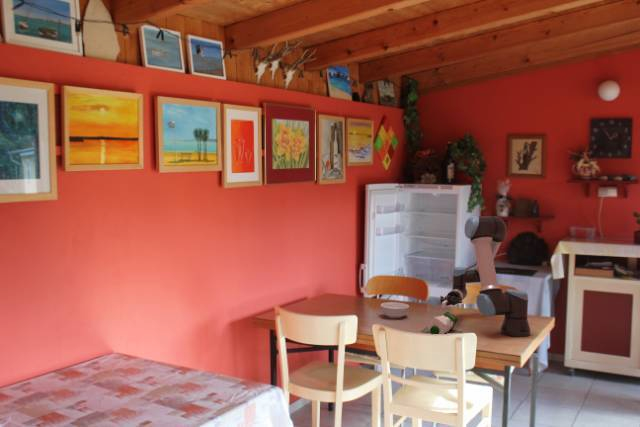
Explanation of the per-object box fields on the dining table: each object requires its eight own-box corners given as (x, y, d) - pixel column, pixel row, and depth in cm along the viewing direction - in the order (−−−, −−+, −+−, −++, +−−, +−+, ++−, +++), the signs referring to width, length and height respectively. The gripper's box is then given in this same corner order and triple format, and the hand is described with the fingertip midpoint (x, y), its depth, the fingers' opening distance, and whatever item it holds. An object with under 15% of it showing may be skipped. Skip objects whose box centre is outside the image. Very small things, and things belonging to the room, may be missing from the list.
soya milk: (440, 322, 349) (424, 329, 333) (447, 309, 346) (432, 315, 330) (453, 331, 345) (438, 339, 328) (460, 318, 342) (446, 325, 326)
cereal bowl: (405, 321, 363) (406, 309, 362) (377, 319, 368) (377, 307, 368) (411, 314, 379) (411, 303, 378) (384, 312, 384) (384, 301, 384)
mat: (462, 331, 341) (462, 331, 341) (457, 336, 332) (457, 335, 332) (426, 327, 350) (426, 326, 350) (420, 331, 341) (420, 331, 341)
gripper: (465, 304, 360) (455, 313, 339) (443, 302, 366) (431, 310, 345) (466, 291, 359) (455, 299, 338) (443, 289, 365) (431, 297, 344)
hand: (443, 305), depth 342 cm, fingers closed
